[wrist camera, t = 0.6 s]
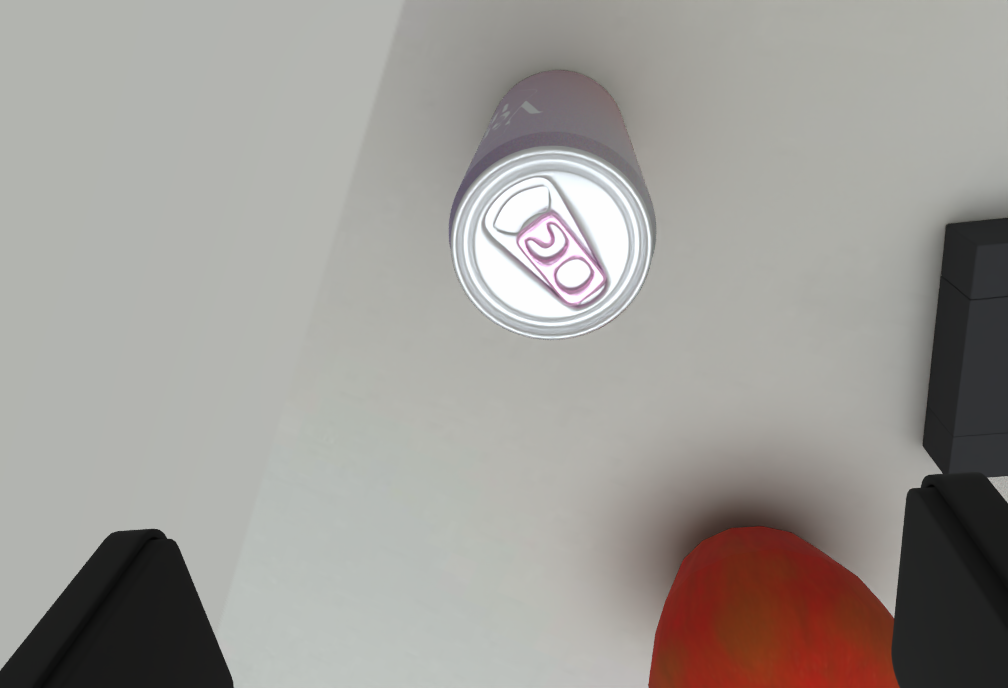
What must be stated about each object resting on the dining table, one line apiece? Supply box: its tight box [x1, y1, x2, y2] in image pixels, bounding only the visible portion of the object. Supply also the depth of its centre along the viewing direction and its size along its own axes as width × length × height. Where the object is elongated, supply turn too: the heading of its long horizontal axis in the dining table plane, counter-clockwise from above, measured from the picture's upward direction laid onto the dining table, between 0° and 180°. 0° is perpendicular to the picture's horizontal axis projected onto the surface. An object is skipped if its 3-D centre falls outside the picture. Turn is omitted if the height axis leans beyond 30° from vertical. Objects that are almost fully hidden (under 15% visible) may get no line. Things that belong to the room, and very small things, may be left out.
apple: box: [648, 526, 900, 688], centre depth 38 cm, size 12×12×14 cm
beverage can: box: [449, 70, 656, 340], centre depth 28 cm, size 6×6×15 cm
